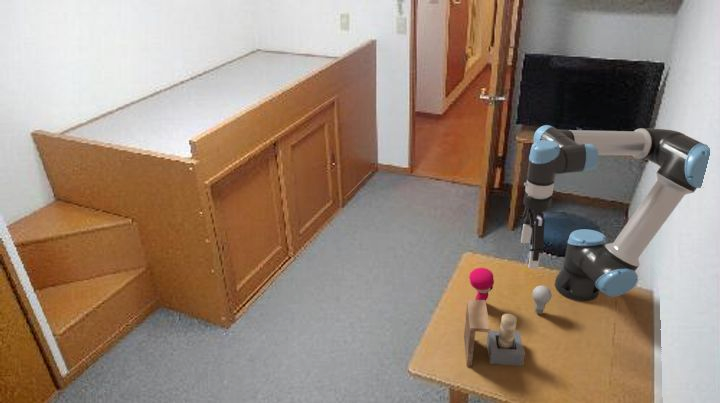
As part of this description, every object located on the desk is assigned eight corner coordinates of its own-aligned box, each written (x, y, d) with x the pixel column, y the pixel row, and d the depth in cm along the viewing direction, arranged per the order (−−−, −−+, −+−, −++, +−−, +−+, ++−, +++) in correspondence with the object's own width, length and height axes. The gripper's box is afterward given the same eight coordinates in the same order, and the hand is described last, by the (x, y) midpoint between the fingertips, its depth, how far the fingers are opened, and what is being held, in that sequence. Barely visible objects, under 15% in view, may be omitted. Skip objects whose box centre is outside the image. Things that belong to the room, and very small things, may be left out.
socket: (518, 342, 174) (519, 332, 172) (522, 365, 165) (524, 354, 163) (486, 341, 175) (488, 330, 173) (489, 363, 166) (491, 352, 164)
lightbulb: (548, 320, 183) (553, 294, 177) (530, 317, 184) (534, 292, 179) (547, 308, 188) (551, 282, 183) (528, 306, 189) (533, 280, 184)
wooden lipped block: (481, 337, 176) (485, 300, 169) (485, 367, 165) (489, 329, 158) (464, 336, 177) (467, 299, 169) (466, 366, 166) (470, 327, 158)
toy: (493, 314, 186) (497, 278, 179) (468, 314, 186) (472, 279, 179) (488, 298, 193) (492, 263, 186) (464, 298, 194) (468, 264, 186)
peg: (510, 348, 172) (515, 314, 165) (512, 358, 168) (517, 323, 161) (496, 347, 172) (500, 313, 165) (497, 357, 168) (502, 323, 161)
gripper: (518, 174, 168) (510, 232, 178) (532, 215, 146) (523, 278, 156) (543, 174, 167) (534, 233, 177) (561, 215, 145) (550, 279, 155)
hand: (529, 254), depth 167 cm, fingers open, 13 cm apart
